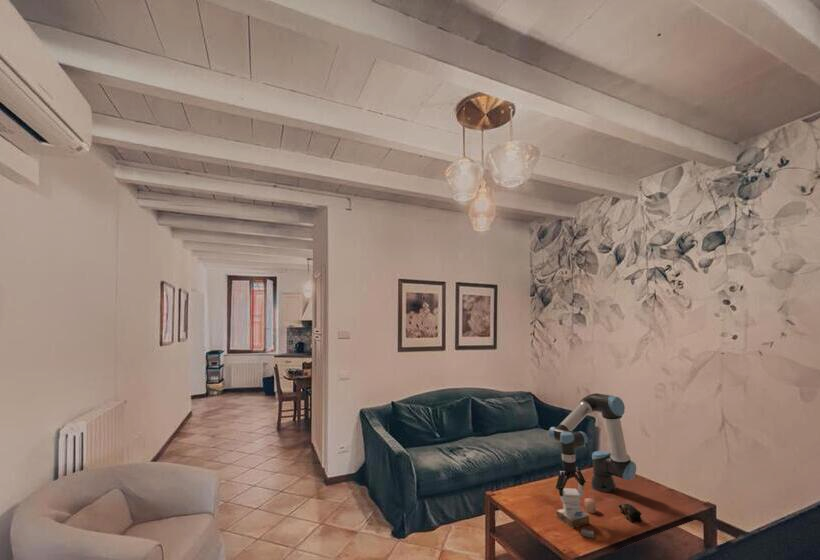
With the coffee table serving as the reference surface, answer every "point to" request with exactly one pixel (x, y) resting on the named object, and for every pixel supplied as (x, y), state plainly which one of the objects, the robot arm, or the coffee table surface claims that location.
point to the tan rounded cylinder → (590, 505)
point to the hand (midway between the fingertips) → (572, 498)
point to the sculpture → (630, 512)
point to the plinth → (573, 518)
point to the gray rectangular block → (587, 533)
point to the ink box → (572, 502)
